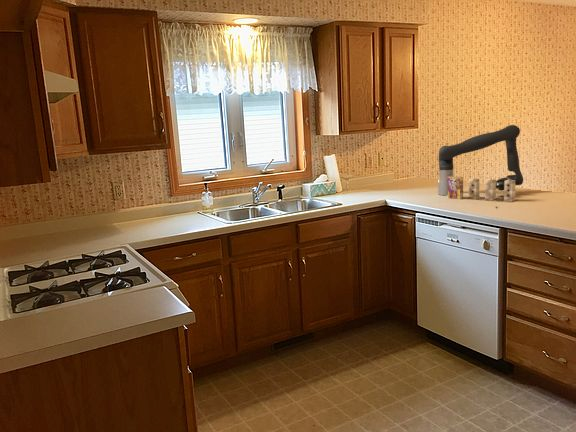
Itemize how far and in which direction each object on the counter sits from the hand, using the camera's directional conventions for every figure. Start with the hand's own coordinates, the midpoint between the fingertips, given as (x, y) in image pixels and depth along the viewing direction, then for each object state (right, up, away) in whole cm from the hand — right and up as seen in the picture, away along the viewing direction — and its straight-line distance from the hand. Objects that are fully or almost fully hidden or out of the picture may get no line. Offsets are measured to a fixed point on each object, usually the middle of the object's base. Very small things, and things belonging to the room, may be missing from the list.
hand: (492, 187), depth 302 cm
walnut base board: (0, -9, +1) cm, 9 cm away
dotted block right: (+8, -8, -7) cm, 13 cm away
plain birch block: (-1, -7, 0) cm, 7 cm away
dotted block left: (-8, -6, +9) cm, 13 cm away
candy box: (-18, -8, +13) cm, 23 cm away
